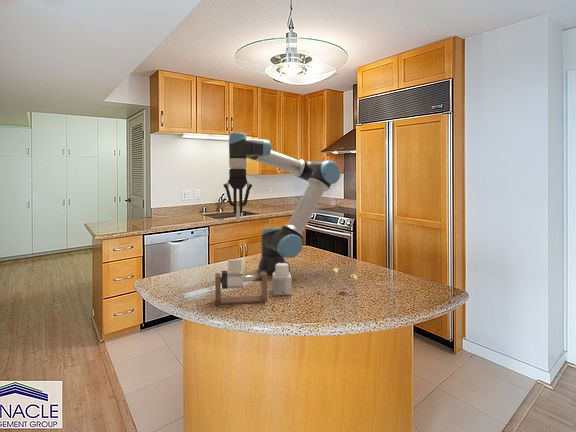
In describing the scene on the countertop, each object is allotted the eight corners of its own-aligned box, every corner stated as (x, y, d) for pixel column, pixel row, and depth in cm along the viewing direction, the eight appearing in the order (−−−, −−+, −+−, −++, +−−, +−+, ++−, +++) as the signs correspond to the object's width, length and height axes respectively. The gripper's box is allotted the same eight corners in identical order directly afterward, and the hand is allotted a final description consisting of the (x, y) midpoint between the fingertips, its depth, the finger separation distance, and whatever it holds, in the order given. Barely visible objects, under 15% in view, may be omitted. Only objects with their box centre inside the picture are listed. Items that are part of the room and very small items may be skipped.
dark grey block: (226, 284, 138) (226, 270, 137) (227, 288, 132) (227, 274, 132) (221, 284, 137) (221, 270, 137) (222, 288, 132) (222, 274, 131)
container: (272, 289, 152) (272, 260, 151) (289, 289, 153) (290, 260, 151) (273, 295, 144) (273, 264, 143) (291, 294, 145) (291, 264, 144)
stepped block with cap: (241, 283, 139) (241, 257, 138) (243, 287, 134) (243, 261, 133) (226, 284, 138) (226, 258, 137) (227, 288, 132) (227, 261, 131)
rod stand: (264, 296, 142) (265, 270, 141) (267, 302, 136) (267, 274, 135) (215, 299, 138) (215, 272, 137) (215, 305, 132) (215, 277, 131)
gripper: (251, 168, 158) (251, 219, 161) (222, 168, 155) (222, 220, 158) (253, 168, 151) (253, 221, 154) (223, 167, 148) (223, 222, 151)
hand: (237, 221), depth 156 cm, fingers closed
